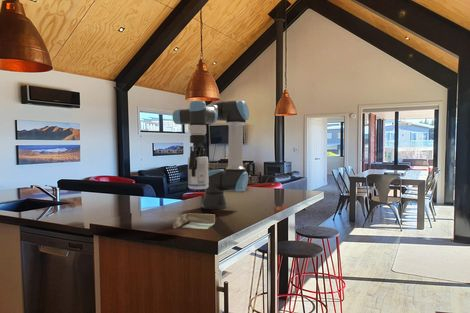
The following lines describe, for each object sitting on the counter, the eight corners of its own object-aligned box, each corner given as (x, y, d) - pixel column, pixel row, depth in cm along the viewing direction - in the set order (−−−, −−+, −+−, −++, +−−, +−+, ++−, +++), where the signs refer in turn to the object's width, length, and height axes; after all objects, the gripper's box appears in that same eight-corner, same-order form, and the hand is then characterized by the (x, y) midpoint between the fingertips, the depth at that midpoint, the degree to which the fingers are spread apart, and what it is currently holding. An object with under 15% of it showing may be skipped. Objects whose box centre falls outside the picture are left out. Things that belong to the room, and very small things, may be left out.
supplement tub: (195, 186, 161) (194, 156, 161) (212, 187, 157) (212, 156, 157) (184, 189, 153) (183, 157, 152) (202, 189, 149) (201, 157, 148)
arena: (186, 221, 166) (186, 213, 166) (216, 222, 162) (216, 214, 162) (172, 228, 151) (172, 219, 151) (205, 230, 147) (205, 221, 147)
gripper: (199, 135, 166) (199, 180, 167) (180, 133, 145) (181, 185, 145) (213, 135, 164) (213, 180, 165) (196, 133, 143) (197, 185, 143)
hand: (198, 182), depth 155 cm, fingers closed on supplement tub, 9 cm apart
